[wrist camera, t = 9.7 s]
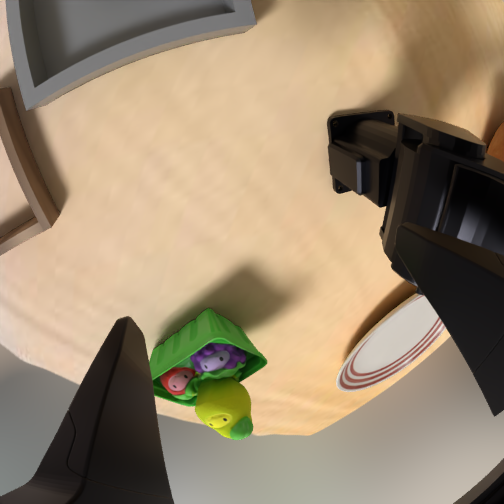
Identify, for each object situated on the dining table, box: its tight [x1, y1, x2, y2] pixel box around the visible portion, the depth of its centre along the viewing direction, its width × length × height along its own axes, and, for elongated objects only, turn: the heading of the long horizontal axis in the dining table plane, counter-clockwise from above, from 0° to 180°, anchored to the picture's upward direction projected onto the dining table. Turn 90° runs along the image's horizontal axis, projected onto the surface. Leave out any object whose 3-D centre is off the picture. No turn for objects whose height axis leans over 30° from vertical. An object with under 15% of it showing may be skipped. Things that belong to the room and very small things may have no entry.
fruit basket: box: [149, 308, 267, 440], centre depth 24 cm, size 11×9×11 cm
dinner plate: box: [336, 293, 446, 392], centre depth 40 cm, size 28×27×3 cm
